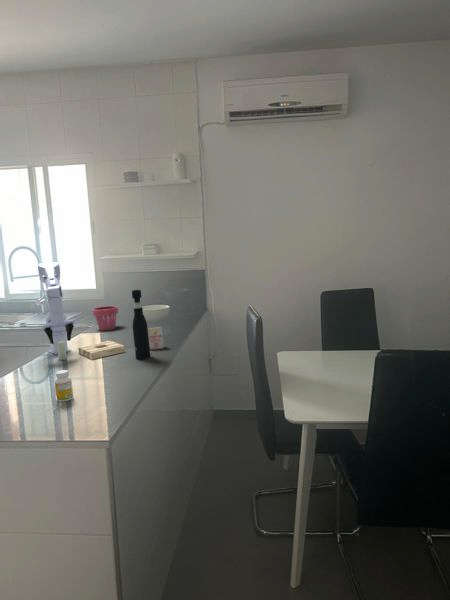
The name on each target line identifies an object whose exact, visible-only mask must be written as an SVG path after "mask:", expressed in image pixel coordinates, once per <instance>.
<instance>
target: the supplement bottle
mask: <svg viewBox="0 0 450 600" xmlns="http://www.w3.org/2000/svg"><path fill="white" fill-rule="evenodd" d="M55 377H56V378H55V379H54V388H55V395H56V401H58V402H61V403H62V402H67V401H70V400H73V398H74V391H73V383H72V377H71V376H69V370H67V369H63V370H58V371H55Z"/></svg>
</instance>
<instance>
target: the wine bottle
mask: <svg viewBox="0 0 450 600" xmlns="http://www.w3.org/2000/svg"><path fill="white" fill-rule="evenodd" d="M131 298H132V299H133V300H134V303H133V313H134V314H133V319H132V334H133V345H134V353H135V359H136V360H138V361H139V360H140V361H141V360H148V359H150V358H151V357H152V356H151V350H150V346H149V337H148V328H149V326H148V323H147V322H148V321H147V320H146V317H145V315H144V312H143V311H144V309H143V304H142V303H141V298H142V291H141V289H134V290H131Z"/></svg>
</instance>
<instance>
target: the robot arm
mask: <svg viewBox="0 0 450 600" xmlns="http://www.w3.org/2000/svg"><path fill="white" fill-rule="evenodd" d="M60 268H61V267H60V263H59V262H58V261H56V262H47V263H46V262H45V263H38V264H37V270H38V276H39V280H40V282H42V283H44V284H45V288H46V289H45V293H46V299H47V302H48V308H49V314H50V315H48V316H47V317H46V319H45V323H44V324H41V325H40V327H41V330H43V331H44V332H45V334H46V336H47V338H48V340H49V345H50V349H49V350H48V352H50V353H52V354H53V355H58V350H57V342H61V341H65V347H66V353H68V352H71V351H72V349H71V348H68V342H69V341H71V338H72V337H71V336H72V332H73V330H74V328H75V326H74V325H75V324H76V320H75V319H74V318H73V319H68V318H67V316H66V315H65V313H64V307H63V290H62V286H61V284H60V280H61V269H60Z"/></svg>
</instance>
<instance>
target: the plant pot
mask: <svg viewBox="0 0 450 600" xmlns="http://www.w3.org/2000/svg"><path fill="white" fill-rule="evenodd" d="M117 314H119V307H118V306H117V305H107V306H98V307H94V308H93V309H92V315H93V316H94V317H95V320H96V323H97V326H98V329H99V331H112V330H114V329H116V324H117V316H118V315H117Z"/></svg>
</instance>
